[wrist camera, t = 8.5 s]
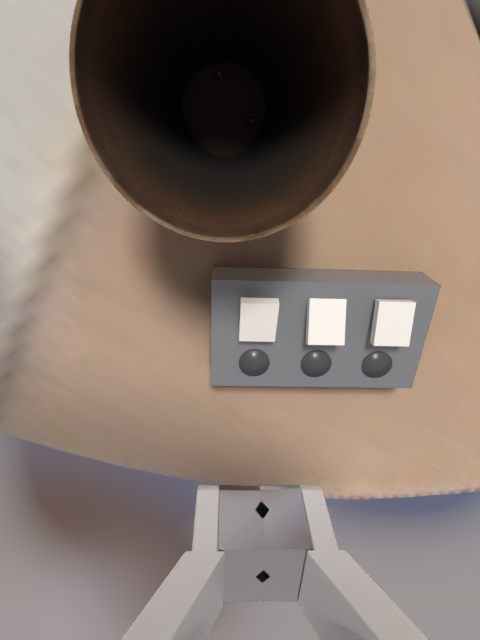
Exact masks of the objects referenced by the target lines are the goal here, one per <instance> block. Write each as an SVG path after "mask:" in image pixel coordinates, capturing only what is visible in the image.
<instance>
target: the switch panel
mask: <svg viewBox="0 0 480 640" xmlns="http://www.w3.org/2000/svg"><path fill="white" fill-rule="evenodd" d="M440 287H441V285H439V284H438V283H437V282H435V281H434V280H432V279H431V278H429V277H428V276H426V275H425V274H424V273H422V272H400V271H363V270H326V269H289V268H252V267H215V266H213V269H212V279H211V386H280V387H361V388H412V385H413V381H414V378H415V374H416V371H417V367H418V364H419V360H420V357H421V353H422V350H423V346H424V343H425V339H426V336H427V332H428V329H429V325H430V322H431V318H432V315H433V311H434V308H435V304H436V301H437V297H438V294H439V290H440ZM241 297H245V298H278V299H279V304H280V305H279V313H278V320H277V328H276V336H275V342H254V341H239V320H240V302H241ZM307 298H326V299H347V302H346V323H345V344H344V345H308V344H306V323H307ZM375 299H389V300H412V301H414V302H416V307H415V313H414V319H413V325H412V331H411V337H410V343H409V347H407V346H373V345H372V344H371V343H370V337H371V330H372V322H373V314H374V307H375Z"/></svg>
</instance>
